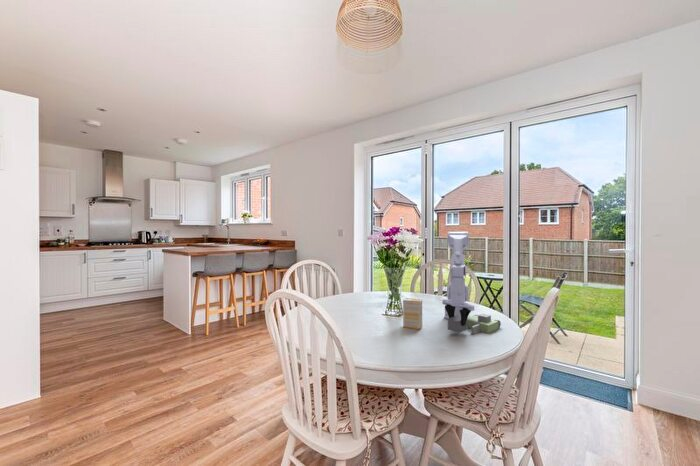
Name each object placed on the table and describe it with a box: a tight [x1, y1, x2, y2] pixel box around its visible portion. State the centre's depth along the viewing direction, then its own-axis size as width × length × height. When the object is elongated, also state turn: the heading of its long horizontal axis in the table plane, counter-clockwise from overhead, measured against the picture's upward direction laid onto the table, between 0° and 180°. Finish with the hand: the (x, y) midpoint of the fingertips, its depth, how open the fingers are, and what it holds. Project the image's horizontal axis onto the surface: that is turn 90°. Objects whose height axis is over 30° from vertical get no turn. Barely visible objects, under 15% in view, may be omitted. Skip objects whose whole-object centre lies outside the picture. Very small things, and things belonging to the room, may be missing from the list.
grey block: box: [447, 316, 468, 334], centre depth 135 cm, size 5×7×5 cm
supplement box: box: [402, 297, 423, 330], centre depth 144 cm, size 8×5×13 cm, turn 65°
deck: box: [467, 313, 502, 335], centre depth 142 cm, size 12×18×6 cm
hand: (457, 323), depth 135 cm, fingers closed on grey block, 5 cm apart
